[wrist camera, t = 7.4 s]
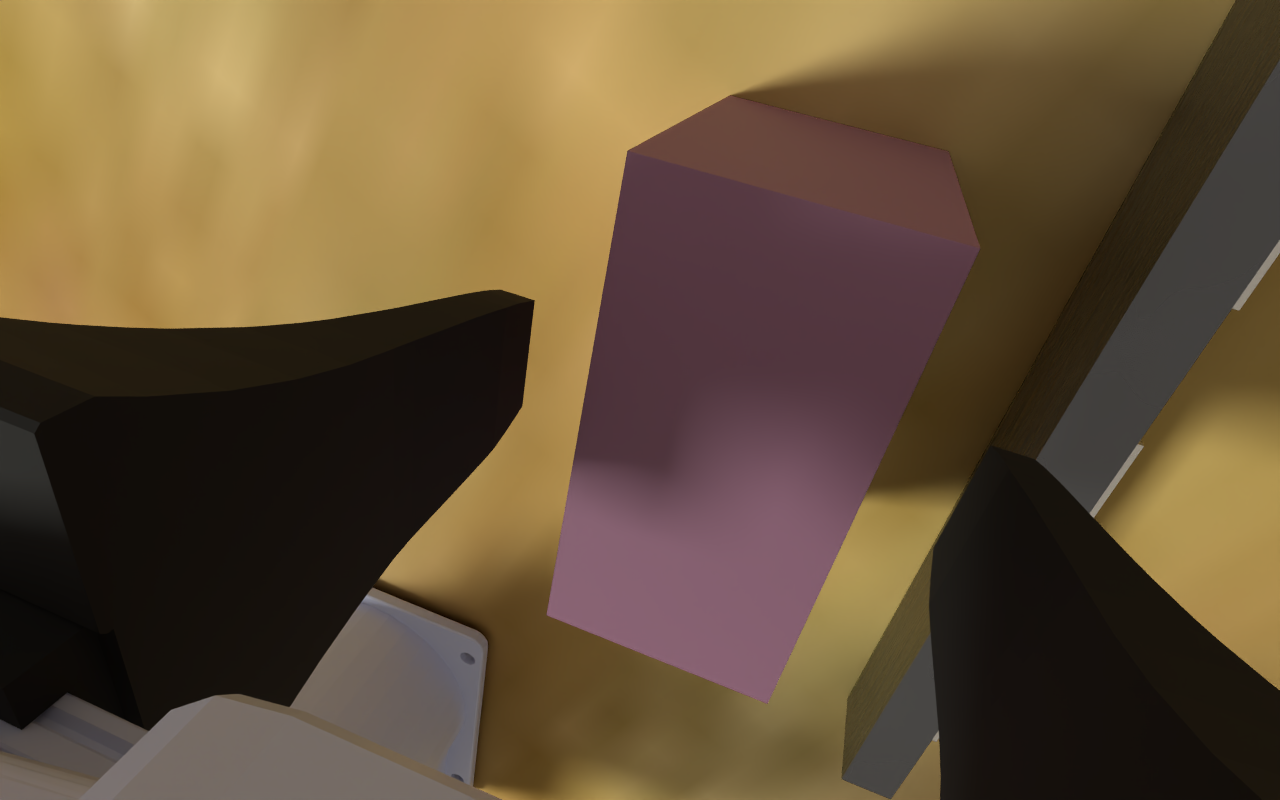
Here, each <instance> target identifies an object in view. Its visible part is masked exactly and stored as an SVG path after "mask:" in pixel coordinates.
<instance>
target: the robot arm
mask: <svg viewBox="0 0 1280 800" xmlns="http://www.w3.org/2000/svg"><path fill="white" fill-rule="evenodd" d="M534 301H535V300H531V299H528V298H525V297H522V296H519V295H516V294H512V293H509V292H506V291H503V290H488V291H480V292H474V293H468V294H463V295H458V296H453V297H448V298H443V299H438V300H433V301H428V302H423V303H418V304H414V305H409V306H404V307H399V308H394V309H388V310H382V311H376V312H370V313H365V314H359V315H353V316H347V317H341V318H335V319H328V320H320V321H312V322H303V323H294V324H282V325H270V326H257V327H232V328H184V329H158V328H124V327H106V326H88V325H72V324H60V323H47V322H38V321H29V320H19V319H10V318H1V317H0V800H502V799H499V798H497V797H495V796H493V795H490V794H488V793H486V792H484V791H482V790H479V789H477V788H475V787H473V782H474V773H475V763H476V754H477V745H478V736H479V726H480V717H481V708H482V698H483V689H484V680H485V671H486V661H487V652H488V642H487V640H486V638H485V636H484V635H483V634H481V633H480V632H479V631H477V630H475V629H472V628H470V627H467V626H465V625H463V624H460V623H458V622H455V621H453V620H450V619H448V618H445V617H443V616H441V615H438V614H436V613H433V612H431V611H428V610H426V609H424V608H421V607H419V606H416V605H414V604H411V603H409V602H406V601H404V600H402V599H399V598H397V597H394V596H392V595H389V594H387V593H385V592H382V591H380V590H377V589H375V588H372V587H373V586H374V584H375V583H376V582H377V580H378V579H379V578H380V576H381V575H382V574H383V572H384V571H385V570H386V568H387V567H388V566H389V564H390V563H391V562H392V560H393V559H394V558H395V557H396V555H397V554H398V553H399V552H400V551H401V550H402V548H403V547H404V546H405V545H406V544H407V542H408V541H409V540H410V539H411V538H412V537H413V536H414V535H415V533H416V532H417V531H418V530H419V529H420V528H421V527H422V526H423V525H424V524H425V523H426V522H427V521H428V520H429V518H430V517H431V516H432V515H433V514H434V513H435V512H436V511H437V510H438V509H439V508H440V507H441V506H442V505H443V504H444V502H445V501H446V500H447V499H448V498H449V497H450V496H451V495H452V494H453V493H454V492H455V491H456V490H457V489H458V487H459V486H460V485H461V484H462V483H463V482H464V481H465V480H466V479H467V478H468V477H469V476H470V474H471V473H472V472H473V471H474V470H475V469H476V468H477V467H478V466H479V465H480V464H481V462H482V461H483V460H484V459H485V458H486V457H487V456H488V455H489V454H490V452H491V451H492V450H493V449H494V448H495V446H496V445H497V443H498V442H499V440H500V439H501V438H502V436H503V435H504V433H505V432H506V430H507V429H508V427H509V426H510V424H511V423H512V421H513V420H514V418H515V417H516V415H517V414H518V412H519V410H520V409H521V407H522V404H523V395H524V387H525V378H526V370H527V361H528V353H529V344H530V335H531V327H532V318H533V310H534ZM929 618H930V632H931V645H932V658H933V670H934V682H935V694H936V706H937V718H938V730H939V742H940V768H941V788H940V800H1280V690H1278V689H1277V688H1276V687H1274V686H1273V685H1272V684H1271V683H1269V682H1268V681H1267V680H1266V679H1265V678H1263V677H1262V676H1261V675H1260V674H1259V673H1257V672H1256V671H1255V670H1254V669H1253V668H1251V667H1250V666H1249V665H1248V664H1247V663H1245V662H1244V661H1243V660H1242V659H1241V658H1239V657H1238V656H1237V655H1236V654H1235V653H1233V652H1232V651H1231V650H1230V649H1229V648H1227V647H1226V646H1225V645H1224V644H1223V643H1221V642H1220V641H1219V640H1218V639H1217V638H1216V637H1214V636H1213V635H1212V634H1211V633H1210V632H1209V631H1208V630H1207V629H1205V628H1204V627H1203V626H1202V625H1201V624H1200V623H1199V622H1198V621H1196V620H1195V619H1194V618H1193V617H1192V616H1191V615H1190V614H1189V613H1188V612H1187V611H1186V610H1185V609H1184V608H1183V607H1181V606H1180V605H1179V604H1178V603H1177V602H1176V601H1175V600H1174V599H1173V598H1172V597H1171V596H1170V595H1169V594H1168V593H1167V592H1166V591H1165V590H1164V589H1163V588H1162V587H1160V586H1159V585H1158V584H1157V583H1156V582H1155V581H1154V580H1153V579H1152V578H1151V577H1150V576H1149V575H1148V574H1147V573H1146V572H1145V571H1144V570H1143V569H1142V568H1141V567H1140V566H1139V565H1138V564H1137V563H1136V562H1135V561H1134V560H1133V559H1132V558H1131V557H1130V556H1129V555H1128V554H1127V553H1126V552H1125V551H1124V550H1123V548H1122V547H1121V546H1120V545H1119V544H1118V543H1117V542H1116V541H1115V540H1114V539H1113V538H1112V537H1111V536H1110V535H1109V534H1108V533H1107V532H1106V531H1105V530H1104V529H1103V527H1102V526H1101V525H1100V524H1099V523H1098V522H1097V521H1096V520H1095V519H1094V518H1093V517H1092V516H1091V515H1090V514H1089V513H1088V511H1087V510H1086V509H1085V508H1084V507H1083V506H1082V505H1081V504H1080V503H1079V502H1078V501H1077V500H1076V499H1075V498H1074V496H1073V495H1072V494H1071V493H1070V492H1069V491H1068V490H1067V489H1066V488H1065V487H1064V486H1063V485H1062V484H1061V483H1060V482H1059V481H1058V480H1057V479H1056V478H1055V477H1054V476H1053V475H1052V474H1051V473H1050V472H1049V471H1048V470H1047V469H1046V468H1045V467H1044V466H1042V465H1041V464H1040V463H1039V462H1038V461H1036V460H1035V459H1033V458H1030V457H1027V456H1023V455H1020V454H1017V453H1014V452H1011V451H1008V450H1004V449H1001V448H998V447H995V446H992V445H990V447H989V449H988V451H987V453H986V454H985V456H984V458H983V460H982V462H981V463H980V465H979V467H978V469H977V471H976V472H975V474H974V476H973V478H972V480H971V481H970V483H969V485H968V487H967V489H966V490H965V492H964V494H963V496H962V498H961V499H960V501H959V503H958V505H957V507H956V508H955V510H954V512H953V514H952V516H951V517H950V519H949V521H948V523H947V525H946V526H945V528H944V530H943V532H942V534H941V535H940V537H939V539H938V541H937V543H936V544H935V546H934V548H933V557H932V568H931V578H930V594H929Z"/></svg>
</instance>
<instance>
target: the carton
mask: <svg viewBox="0 0 1280 800" xmlns="http://www.w3.org/2000/svg"><path fill="white" fill-rule="evenodd" d="M979 251H980V246H979V243H978V240H977V237H976V234H975V230H974V227H973V224H972V221H971V218H970V215H969V212H968V209H967V206H966V203H965V200H964V197H963V194H962V191H961V188H960V185H959V182H958V179H957V176H956V173H955V169H954V166H953V163H952V160H951V157H950V154H949V151H945V150H941V149H937V148H933V147H929V146H926V145H922V144H918V143H914V142H910V141H906V140H902V139H898V138H894V137H890V136H887V135H883V134H879V133H875V132H871V131H867V130H863V129H859V128H855V127H851V126H848V125H844V124H840V123H836V122H832V121H828V120H824V119H820V118H816V117H812V116H809V115H805V114H801V113H797V112H793V111H789V110H785V109H781V108H777V107H773V106H770V105H766V104H762V103H758V102H754V101H750V100H746V99H742V98H738V97H734V96H731V95H730V96H728V97H726V98H724V99H722V100H721V101H719V102H717V103H715V104H713V105H711V106H709V107H708V108H706V109H704V110H702V111H700V112H698V113H696V114H695V115H693V116H691V117H689V118H687V119H685V120H684V121H682V122H680V123H678V124H676V125H674V126H672V127H671V128H669V129H667V130H665V131H663V132H661V133H660V134H658V135H656V136H654V137H652V138H650V139H648V140H647V141H645V142H643V143H641V144H639V145H637V146H635V147H634V148H632V149H630V150H628V151H627V157H626V162H625V168H624V174H623V180H622V185H621V191H620V197H619V203H618V208H617V214H616V220H615V225H614V231H613V237H612V243H611V248H610V254H609V260H608V266H607V271H606V277H605V283H604V289H603V294H602V300H601V306H600V312H599V317H598V323H597V329H596V334H595V340H594V346H593V352H592V357H591V363H590V369H589V375H588V380H587V386H586V392H585V398H584V403H583V409H582V415H581V421H580V426H579V432H578V438H577V443H576V449H575V455H574V461H573V466H572V472H571V478H570V484H569V489H568V495H567V501H566V507H565V512H564V518H563V524H562V530H561V535H560V541H559V547H558V552H557V558H556V564H555V570H554V575H553V581H552V587H551V593H550V598H549V604H548V610H547V616H550V617H552V618H555V619H557V620H560V621H562V622H565V623H567V624H570V625H572V626H575V627H577V628H580V629H582V630H585V631H587V632H590V633H592V634H595V635H597V636H600V637H602V638H605V639H607V640H610V641H612V642H614V643H617V644H619V645H622V646H624V647H627V648H629V649H632V650H634V651H637V652H639V653H642V654H644V655H647V656H649V657H652V658H654V659H657V660H659V661H662V662H664V663H667V664H669V665H672V666H674V667H677V668H679V669H682V670H684V671H687V672H689V673H692V674H694V675H697V676H699V677H702V678H704V679H707V680H709V681H712V682H714V683H717V684H719V685H722V686H724V687H727V688H729V689H732V690H734V691H737V692H739V693H742V694H744V695H747V696H749V697H752V698H754V699H757V700H759V701H762V702H764V703H767V704H768V702H769V700H770V697H771V695H772V693H773V691H774V689H775V687H776V685H777V682H778V680H779V678H780V676H781V674H782V672H783V670H784V667H785V665H786V663H787V661H788V659H789V657H790V655H791V652H792V650H793V648H794V646H795V644H796V642H797V640H798V638H799V635H800V633H801V631H802V629H803V627H804V625H805V623H806V620H807V618H808V616H809V614H810V612H811V610H812V608H813V605H814V603H815V601H816V599H817V597H818V595H819V593H820V590H821V588H822V586H823V584H824V582H825V580H826V578H827V576H828V573H829V571H830V569H831V567H832V565H833V563H834V561H835V558H836V556H837V554H838V552H839V550H840V548H841V546H842V543H843V541H844V539H845V537H846V535H847V533H848V531H849V528H850V526H851V524H852V522H853V520H854V518H855V516H856V514H857V511H858V509H859V507H860V505H861V503H862V501H863V499H864V496H865V494H866V492H867V490H868V488H869V486H870V484H871V481H872V479H873V477H874V475H875V473H876V471H877V469H878V466H879V464H880V462H881V460H882V458H883V456H884V454H885V451H886V449H887V447H888V445H889V443H890V441H891V439H892V437H893V434H894V432H895V430H896V428H897V426H898V424H899V422H900V419H901V417H902V415H903V413H904V411H905V409H906V407H907V404H908V402H909V400H910V398H911V396H912V394H913V392H914V389H915V387H916V385H917V383H918V381H919V379H920V377H921V375H922V372H923V370H924V368H925V366H926V364H927V362H928V360H929V357H930V355H931V353H932V351H933V349H934V347H935V345H936V342H937V340H938V338H939V336H940V334H941V332H942V330H943V327H944V325H945V323H946V321H947V319H948V317H949V315H950V313H951V310H952V308H953V306H954V304H955V302H956V300H957V298H958V295H959V293H960V291H961V289H962V287H963V285H964V283H965V280H966V278H967V276H968V274H969V272H970V270H971V268H972V265H973V263H974V261H975V259H976V257H977V255H978V253H979Z"/></svg>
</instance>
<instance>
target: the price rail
mask: <svg viewBox="0 0 1280 800" xmlns="http://www.w3.org/2000/svg"><path fill="white" fill-rule="evenodd" d="M1279 253H1280V0H1236V1H1235V3H1234V5H1233V7H1232V8H1231V10H1230V12H1229V14H1228V16H1227V17H1226V19H1225V21H1224V23H1223V25H1222V26H1221V28H1220V30H1219V32H1218V34H1217V35H1216V37H1215V39H1214V41H1213V43H1212V44H1211V46H1210V48H1209V50H1208V52H1207V53H1206V55H1205V57H1204V59H1203V60H1202V62H1201V64H1200V66H1199V68H1198V69H1197V71H1196V73H1195V75H1194V77H1193V78H1192V80H1191V82H1190V84H1189V86H1188V87H1187V89H1186V91H1185V93H1184V95H1183V96H1182V98H1181V100H1180V102H1179V104H1178V105H1177V107H1176V109H1175V111H1174V113H1173V114H1172V116H1171V118H1170V120H1169V122H1168V123H1167V125H1166V127H1165V129H1164V131H1163V132H1162V134H1161V136H1160V138H1159V140H1158V141H1157V143H1156V145H1155V147H1154V149H1153V150H1152V152H1151V154H1150V156H1149V158H1148V159H1147V161H1146V163H1145V165H1144V167H1143V168H1142V170H1141V172H1140V174H1139V176H1138V177H1137V179H1136V181H1135V183H1134V185H1133V186H1132V188H1131V190H1130V192H1129V194H1128V195H1127V197H1126V199H1125V201H1124V202H1123V204H1122V206H1121V208H1120V210H1119V211H1118V213H1117V215H1116V217H1115V219H1114V220H1113V222H1112V224H1111V226H1110V228H1109V229H1108V231H1107V233H1106V235H1105V237H1104V238H1103V240H1102V242H1101V244H1100V246H1099V247H1098V249H1097V251H1096V253H1095V255H1094V256H1093V258H1092V260H1091V262H1090V264H1089V265H1088V267H1087V269H1086V271H1085V273H1084V274H1083V276H1082V278H1081V280H1080V282H1079V283H1078V285H1077V287H1076V289H1075V291H1074V292H1073V294H1072V296H1071V298H1070V300H1069V301H1068V303H1067V305H1066V307H1065V309H1064V310H1063V312H1062V314H1061V316H1060V318H1059V319H1058V321H1057V323H1056V325H1055V327H1054V328H1053V330H1052V332H1051V334H1050V336H1049V337H1048V339H1047V341H1046V343H1045V345H1044V346H1043V348H1042V350H1041V352H1040V353H1039V355H1038V357H1037V359H1036V361H1035V362H1034V364H1033V366H1032V368H1031V370H1030V371H1029V373H1028V375H1027V377H1026V379H1025V380H1024V382H1023V384H1022V386H1021V388H1020V389H1019V391H1018V393H1017V395H1016V397H1015V398H1014V400H1013V402H1012V404H1011V406H1010V407H1009V409H1008V411H1007V413H1006V415H1005V416H1004V418H1003V420H1002V422H1001V424H1000V425H999V427H998V429H997V431H996V433H995V434H994V436H993V438H992V440H991V442H990V443H989V445H988V447H987V449H986V451H985V452H984V454H983V456H982V458H981V460H980V461H979V463H978V465H977V467H976V469H975V470H974V472H973V474H972V476H971V478H970V479H969V481H968V483H967V485H966V487H965V488H964V490H963V492H962V494H961V496H960V497H959V499H958V501H957V503H956V504H955V506H954V508H953V510H952V512H951V513H950V515H949V517H948V519H947V521H946V522H945V524H944V526H943V528H942V530H941V531H940V533H939V535H938V537H937V539H936V540H935V542H934V544H933V546H932V548H931V549H930V551H929V553H928V555H927V557H926V558H925V560H924V562H923V564H922V566H921V567H920V569H919V571H918V573H917V575H916V576H915V578H914V580H913V582H912V584H911V585H910V587H909V589H908V591H907V593H906V594H905V596H904V598H903V600H902V602H901V603H900V605H899V607H898V609H897V611H896V612H895V614H894V616H893V618H892V620H891V621H890V623H889V625H888V627H887V629H886V630H885V632H884V634H883V636H882V638H881V639H880V641H879V643H878V645H877V646H876V648H875V650H874V652H873V654H872V655H871V657H870V659H869V661H868V663H867V664H866V666H865V668H864V670H863V672H862V673H861V675H860V677H859V679H858V681H857V682H856V684H855V686H854V688H853V690H852V691H851V693H850V695H849V697H848V700H847V713H846V726H845V739H844V752H843V766H842V779H843V780H845V781H847V782H850V783H852V784H855V785H857V786H860V787H862V788H864V789H867V790H869V791H872V792H874V793H877V794H879V795H882V796H884V797H886V798H889V799H891V798H892V797H893V795H894V794H895V792H896V791H897V790H898V788H899V787H900V785H901V784H902V782H903V781H904V779H905V778H906V777H907V775H908V774H909V772H910V771H911V769H912V768H913V767H914V765H915V764H916V762H917V761H918V759H919V758H920V756H921V755H922V754H923V752H924V751H925V749H926V748H927V746H928V745H929V744H930V742H931V741H932V740H933V741H936V742H937V740H938V739H939V730H938V718H937V706H936V694H935V682H934V670H933V658H932V645H931V632H930V618H929V594H930V578H931V568H932V557H933V548H934V546H935V544H936V543H937V541H938V539H939V537H940V535H941V534H942V532H943V530H944V528H945V526H946V525H947V523H948V521H949V519H950V517H951V516H952V514H953V512H954V510H955V508H956V507H957V505H958V503H959V501H960V499H961V498H962V496H963V494H964V492H965V490H966V489H967V487H968V485H969V483H970V481H971V480H972V478H973V476H974V474H975V472H976V471H977V469H978V467H979V465H980V463H981V462H982V460H983V458H984V456H985V454H986V453H987V451H988V449H989V447H990V445H992V446H995V447H998V448H1001V449H1004V450H1008V451H1011V452H1014V453H1017V454H1020V455H1023V456H1027V457H1030V458H1033V459H1035V460H1036V461H1038V462H1039V463H1040V464H1041V465H1042V466H1044V467H1045V468H1046V469H1047V470H1048V471H1049V472H1050V473H1051V474H1052V475H1053V476H1054V477H1055V478H1056V479H1057V480H1058V481H1059V482H1060V483H1061V484H1062V485H1063V486H1064V487H1065V488H1066V489H1067V490H1068V491H1069V492H1070V493H1071V494H1072V495H1073V496H1074V498H1075V499H1076V500H1077V501H1078V502H1079V503H1080V504H1081V505H1082V506H1083V507H1084V508H1085V509H1086V510H1087V511H1088V513H1089V514H1090V515H1091V516H1092V517H1093V518H1094V517H1095V515H1096V514H1097V512H1098V511H1099V510H1100V508H1101V507H1102V505H1103V504H1104V502H1105V501H1106V500H1107V498H1108V497H1109V495H1110V494H1111V492H1112V491H1113V490H1114V488H1115V487H1116V485H1117V484H1118V483H1119V481H1120V480H1121V478H1122V477H1123V475H1124V474H1125V473H1126V471H1127V470H1128V468H1129V467H1130V465H1131V464H1132V463H1133V461H1134V460H1135V458H1136V457H1137V455H1138V454H1139V453H1140V451H1141V450H1142V448H1143V447H1144V445H1143V443H1142V442H1141V439H1142V437H1143V436H1144V434H1145V433H1146V431H1147V430H1148V429H1149V427H1150V426H1151V424H1152V423H1153V421H1154V420H1155V418H1156V417H1157V416H1158V414H1159V413H1160V411H1161V410H1162V408H1163V407H1164V406H1165V404H1166V403H1167V401H1168V400H1169V398H1170V397H1171V395H1172V394H1173V393H1174V391H1175V390H1176V388H1177V387H1178V385H1179V384H1180V383H1181V381H1182V380H1183V378H1184V377H1185V375H1186V374H1187V372H1188V371H1189V370H1190V368H1191V367H1192V365H1193V364H1194V362H1195V361H1196V360H1197V358H1198V357H1199V355H1200V354H1201V352H1202V351H1203V349H1204V348H1205V347H1206V345H1207V344H1208V342H1209V341H1210V339H1211V338H1212V337H1213V335H1214V334H1215V332H1216V331H1217V329H1218V328H1219V326H1220V325H1221V324H1222V322H1223V321H1224V319H1225V318H1226V316H1227V315H1228V314H1229V312H1230V311H1231V309H1235V310H1240V309H1241V307H1242V306H1243V305H1244V303H1245V302H1246V300H1247V299H1248V298H1249V296H1250V295H1251V293H1252V292H1253V290H1254V289H1255V288H1256V286H1257V285H1258V283H1259V282H1260V280H1261V279H1262V278H1263V276H1264V275H1265V273H1266V272H1267V270H1268V269H1269V268H1270V266H1271V265H1272V263H1273V262H1274V261H1275V259H1276V258H1277V256H1278V255H1279Z"/></svg>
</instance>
